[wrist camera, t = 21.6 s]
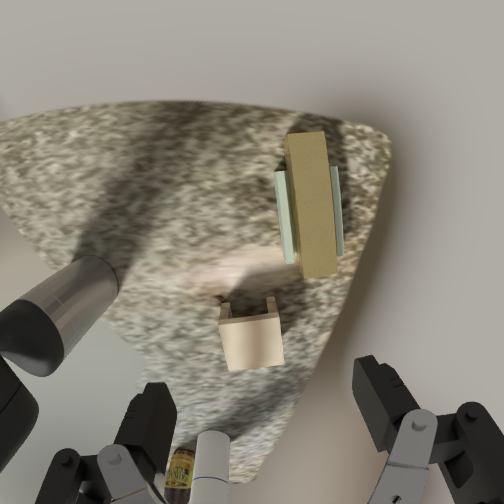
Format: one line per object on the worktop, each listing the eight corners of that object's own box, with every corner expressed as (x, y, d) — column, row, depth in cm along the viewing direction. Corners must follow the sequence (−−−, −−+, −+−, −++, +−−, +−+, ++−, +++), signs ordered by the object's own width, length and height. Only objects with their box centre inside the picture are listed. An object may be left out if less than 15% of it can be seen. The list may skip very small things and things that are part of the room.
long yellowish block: (297, 267, 40) (304, 278, 36) (282, 138, 35) (287, 134, 31) (328, 262, 40) (337, 273, 36) (315, 135, 35) (324, 131, 31)
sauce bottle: (193, 448, 53) (183, 517, 34) (201, 460, 55) (194, 525, 36) (167, 447, 53) (154, 514, 34) (176, 460, 55) (166, 523, 36)
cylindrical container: (217, 427, 51) (211, 529, 27) (236, 442, 52) (236, 538, 28) (191, 435, 51) (177, 530, 27) (210, 450, 53) (203, 540, 29)
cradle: (283, 256, 41) (286, 263, 37) (273, 171, 37) (275, 171, 34) (336, 248, 41) (344, 255, 37) (329, 166, 37) (337, 165, 34)
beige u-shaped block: (230, 345, 45) (228, 371, 38) (221, 303, 42) (218, 325, 36) (279, 339, 45) (284, 364, 38) (274, 296, 42) (279, 317, 36)
